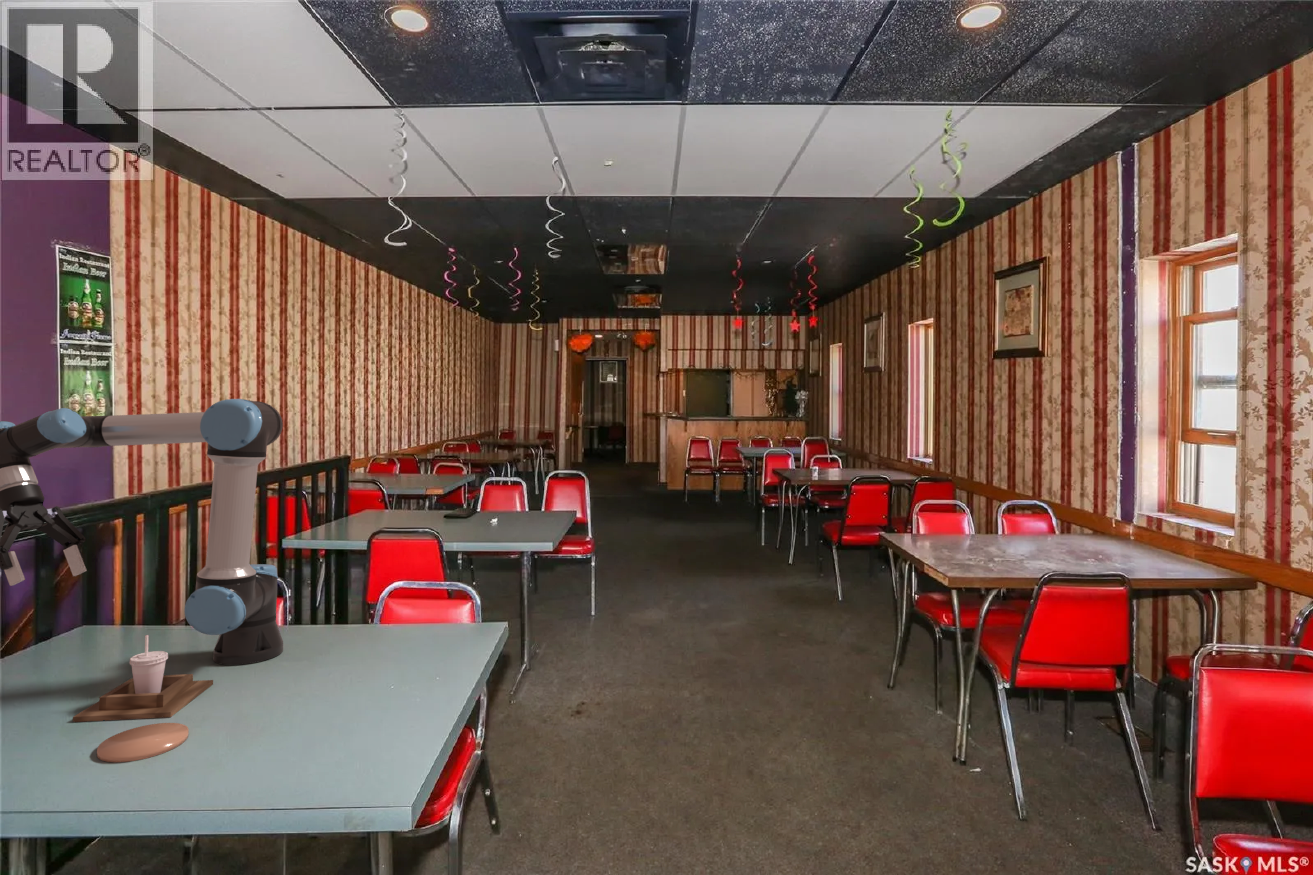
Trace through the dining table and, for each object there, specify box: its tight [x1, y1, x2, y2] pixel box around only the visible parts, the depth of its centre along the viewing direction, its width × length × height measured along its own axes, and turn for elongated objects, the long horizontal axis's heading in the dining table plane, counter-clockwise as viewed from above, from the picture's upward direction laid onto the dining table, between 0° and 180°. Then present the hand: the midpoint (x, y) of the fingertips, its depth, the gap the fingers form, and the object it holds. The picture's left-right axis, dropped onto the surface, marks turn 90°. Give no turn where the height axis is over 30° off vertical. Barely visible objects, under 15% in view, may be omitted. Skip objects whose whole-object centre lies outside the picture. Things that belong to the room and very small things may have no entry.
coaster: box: [96, 722, 190, 763], centre depth 117 cm, size 13×13×1 cm
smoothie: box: [129, 634, 169, 694], centre depth 135 cm, size 6×6×14 cm
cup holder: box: [72, 673, 214, 723], centre depth 135 cm, size 17×17×4 cm
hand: (50, 578), depth 139 cm, fingers open, 13 cm apart
